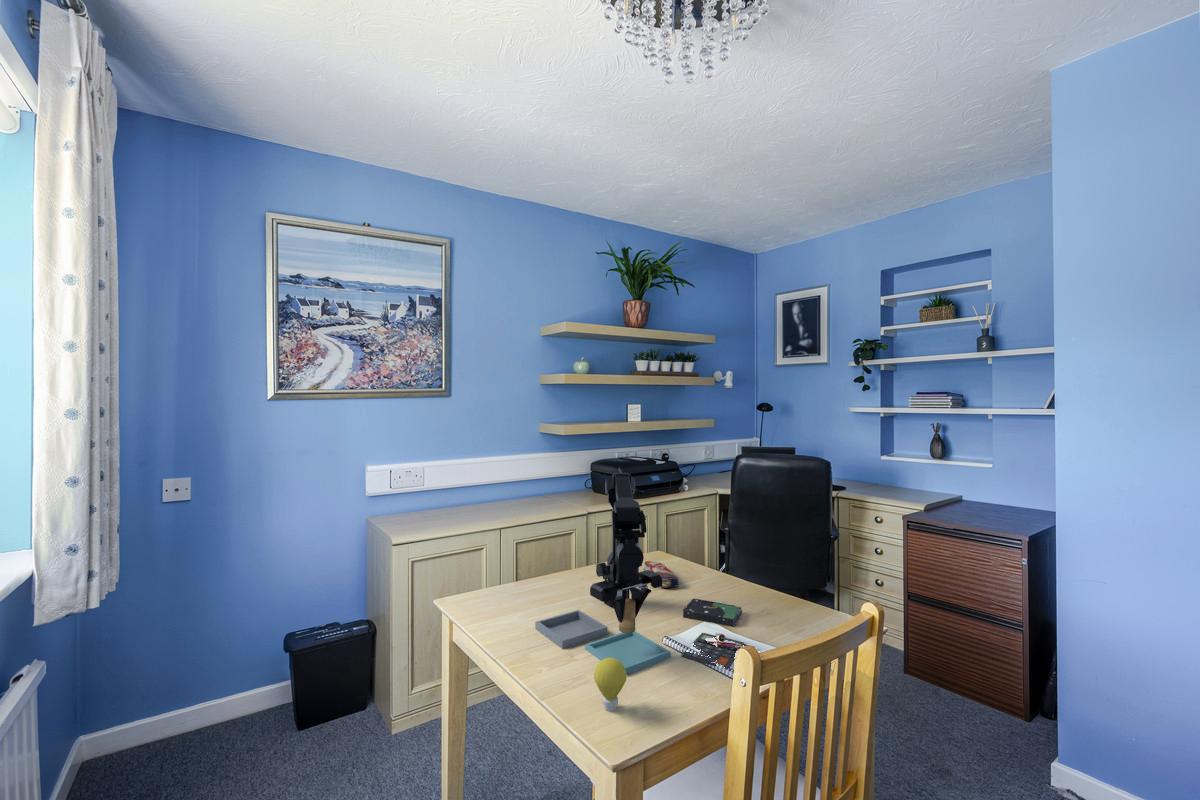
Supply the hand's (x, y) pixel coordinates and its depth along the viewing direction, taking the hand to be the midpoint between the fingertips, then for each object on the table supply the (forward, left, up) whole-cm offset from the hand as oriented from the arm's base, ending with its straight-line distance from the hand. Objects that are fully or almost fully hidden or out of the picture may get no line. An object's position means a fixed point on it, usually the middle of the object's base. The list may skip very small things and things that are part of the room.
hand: (627, 619), depth 134 cm
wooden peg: (0, 0, -3) cm, 2 cm away
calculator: (-19, +11, -9) cm, 24 cm away
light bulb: (+17, +16, -9) cm, 25 cm away
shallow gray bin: (+5, -18, -9) cm, 20 cm away
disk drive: (-34, -4, -9) cm, 36 cm away
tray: (0, 0, -9) cm, 9 cm away
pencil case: (-42, -35, -9) cm, 55 cm away
